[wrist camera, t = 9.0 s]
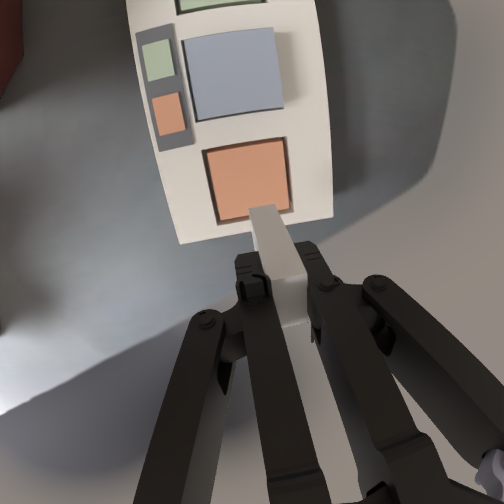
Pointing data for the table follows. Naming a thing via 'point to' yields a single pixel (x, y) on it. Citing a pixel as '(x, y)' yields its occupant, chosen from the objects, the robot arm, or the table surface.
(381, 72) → the table surface
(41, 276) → the table surface
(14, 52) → the bucket
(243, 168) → the terracotta key
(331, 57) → the table surface
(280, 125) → the keypad
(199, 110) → the slate key
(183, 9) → the sage key
